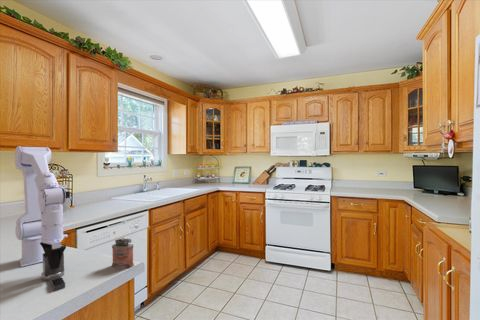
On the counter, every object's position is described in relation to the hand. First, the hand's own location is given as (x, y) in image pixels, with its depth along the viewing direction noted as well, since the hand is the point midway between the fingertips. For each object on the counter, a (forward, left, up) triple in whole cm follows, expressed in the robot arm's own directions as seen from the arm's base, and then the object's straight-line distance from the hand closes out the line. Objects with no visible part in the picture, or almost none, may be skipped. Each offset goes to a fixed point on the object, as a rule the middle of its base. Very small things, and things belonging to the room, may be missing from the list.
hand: (53, 265), depth 80 cm
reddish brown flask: (+9, +19, -4) cm, 21 cm away
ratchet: (+4, 0, -4) cm, 6 cm away
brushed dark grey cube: (0, 0, -2) cm, 2 cm away
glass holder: (-127, +21, -4) cm, 129 cm away
